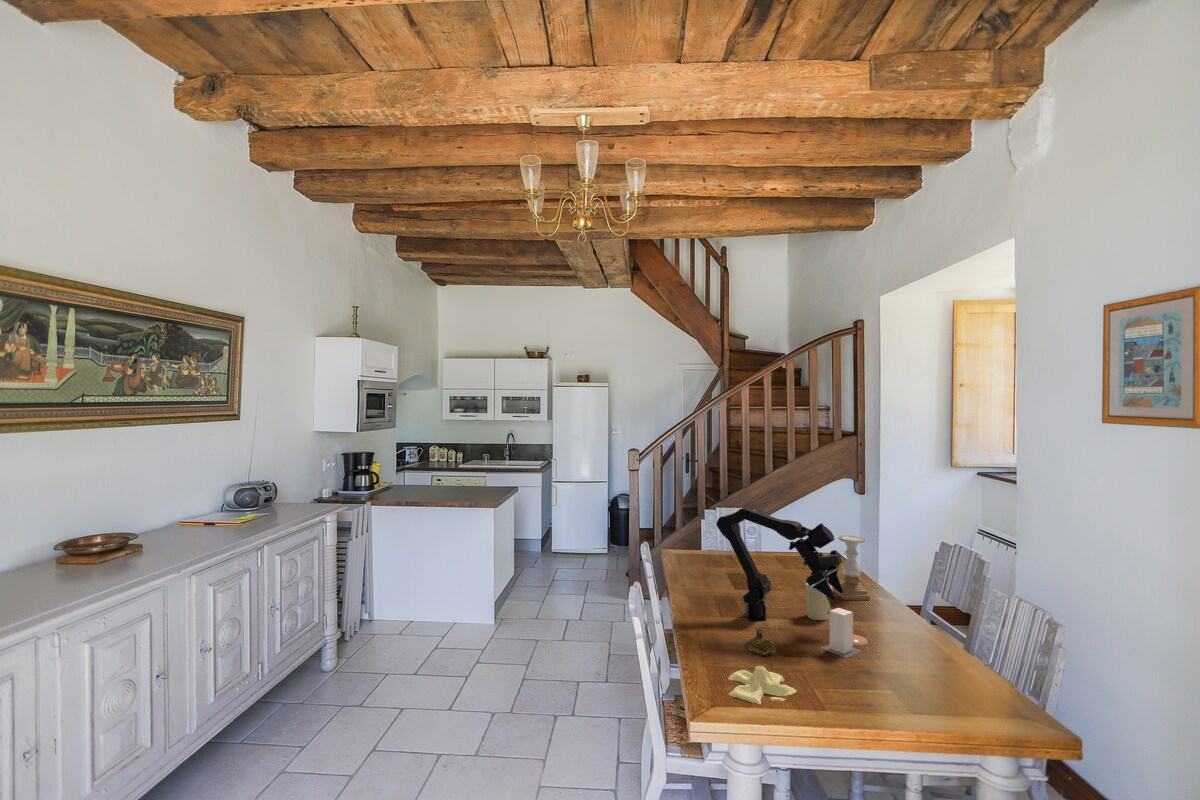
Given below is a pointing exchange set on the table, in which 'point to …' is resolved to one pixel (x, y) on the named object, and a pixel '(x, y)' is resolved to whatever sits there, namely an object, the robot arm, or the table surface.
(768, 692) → the cloth
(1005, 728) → the table surface
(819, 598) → the coffee cup
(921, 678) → the table surface
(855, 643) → the peach dome
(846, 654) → the gray tile
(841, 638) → the ivory block
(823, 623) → the table surface
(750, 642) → the seal
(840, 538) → the candle holder
